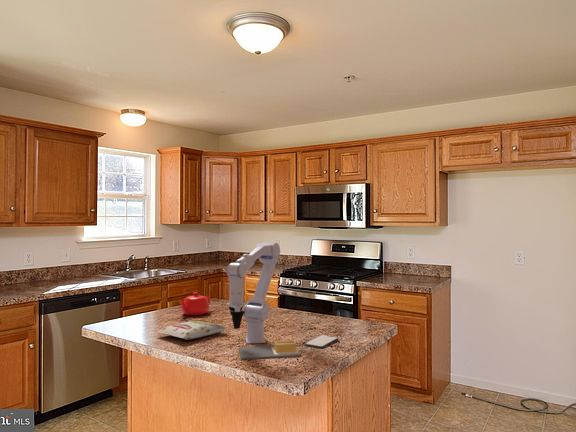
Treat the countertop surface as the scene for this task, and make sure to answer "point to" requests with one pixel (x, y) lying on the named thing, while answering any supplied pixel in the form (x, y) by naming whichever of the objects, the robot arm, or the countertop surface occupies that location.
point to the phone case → (321, 341)
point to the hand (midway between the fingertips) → (236, 326)
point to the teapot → (195, 305)
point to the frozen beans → (192, 329)
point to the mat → (264, 353)
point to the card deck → (285, 346)
